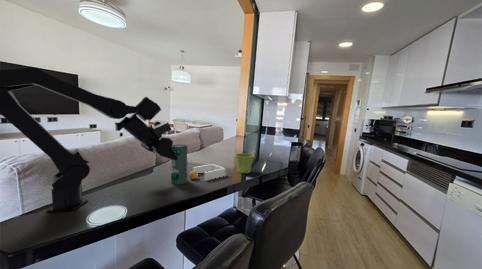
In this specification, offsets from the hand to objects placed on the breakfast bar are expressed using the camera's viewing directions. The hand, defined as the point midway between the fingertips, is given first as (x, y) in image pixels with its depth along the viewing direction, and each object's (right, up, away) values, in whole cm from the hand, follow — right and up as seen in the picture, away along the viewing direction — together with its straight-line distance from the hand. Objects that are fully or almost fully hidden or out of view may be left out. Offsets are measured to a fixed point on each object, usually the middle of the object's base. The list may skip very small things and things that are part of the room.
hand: (171, 157), depth 73 cm
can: (+2, -11, +3) cm, 11 cm away
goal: (+12, -10, +12) cm, 20 cm away
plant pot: (+29, -10, +19) cm, 36 cm away
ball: (+7, -10, +7) cm, 14 cm away
